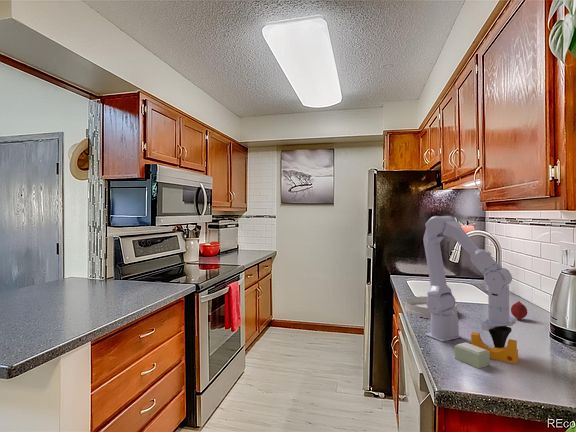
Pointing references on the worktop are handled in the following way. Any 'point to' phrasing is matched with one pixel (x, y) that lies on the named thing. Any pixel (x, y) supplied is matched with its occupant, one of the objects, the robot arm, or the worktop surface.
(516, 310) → the onion
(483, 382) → the worktop surface
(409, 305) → the dish
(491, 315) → the robot arm
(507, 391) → the worktop surface
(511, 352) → the pipe clamp
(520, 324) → the worktop surface
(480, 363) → the pale green block
